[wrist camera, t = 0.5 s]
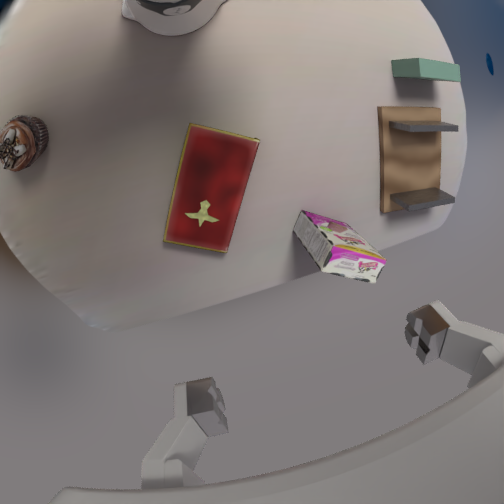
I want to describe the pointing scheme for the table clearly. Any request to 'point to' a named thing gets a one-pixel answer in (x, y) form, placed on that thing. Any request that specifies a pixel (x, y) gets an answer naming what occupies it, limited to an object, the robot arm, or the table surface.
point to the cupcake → (22, 142)
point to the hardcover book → (209, 188)
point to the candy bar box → (338, 248)
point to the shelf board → (407, 153)
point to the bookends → (428, 195)
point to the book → (426, 69)
